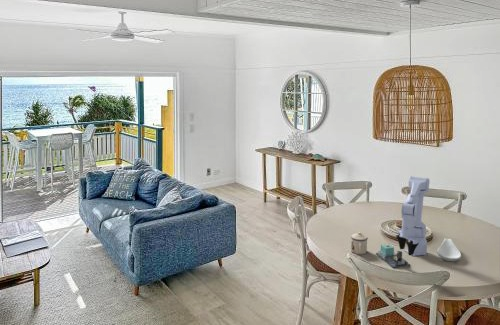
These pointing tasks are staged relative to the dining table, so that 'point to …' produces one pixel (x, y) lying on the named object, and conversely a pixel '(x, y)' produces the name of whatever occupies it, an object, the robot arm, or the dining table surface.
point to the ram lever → (399, 258)
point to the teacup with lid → (359, 243)
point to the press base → (391, 260)
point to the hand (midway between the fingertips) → (406, 251)
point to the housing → (387, 249)
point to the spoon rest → (448, 251)
